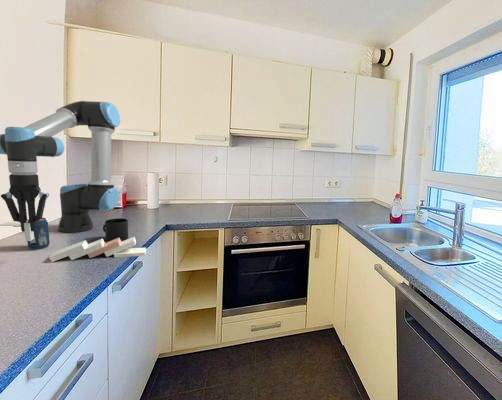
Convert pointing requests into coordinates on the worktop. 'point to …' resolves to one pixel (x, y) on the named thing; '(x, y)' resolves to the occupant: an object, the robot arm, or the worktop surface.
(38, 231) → the soda can
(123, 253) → the domino
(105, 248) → the domino
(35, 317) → the worktop surface
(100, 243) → the domino
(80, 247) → the domino
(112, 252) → the domino
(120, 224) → the mug
